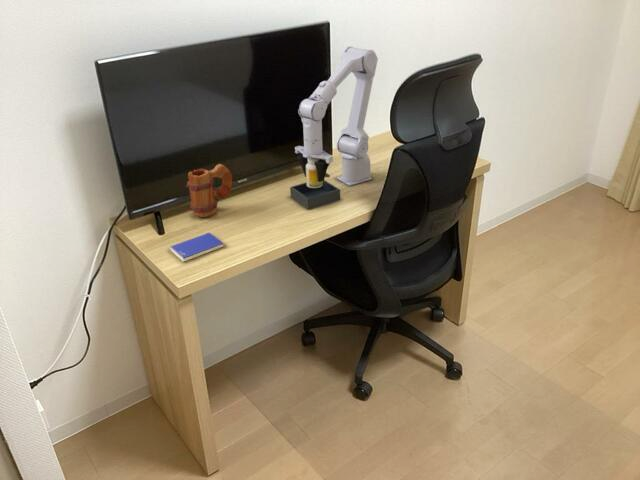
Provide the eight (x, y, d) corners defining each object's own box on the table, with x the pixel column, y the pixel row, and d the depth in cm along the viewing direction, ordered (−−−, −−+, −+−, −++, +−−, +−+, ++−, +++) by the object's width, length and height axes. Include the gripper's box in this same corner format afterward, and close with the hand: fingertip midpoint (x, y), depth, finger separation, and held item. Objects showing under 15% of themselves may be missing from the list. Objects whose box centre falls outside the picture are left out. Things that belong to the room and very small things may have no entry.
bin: (321, 188, 196) (321, 178, 194) (340, 199, 188) (340, 189, 186) (290, 197, 191) (290, 187, 189) (308, 209, 182) (307, 199, 181)
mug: (194, 222, 177) (187, 177, 170) (186, 212, 184) (179, 168, 176) (239, 211, 183) (234, 167, 175) (230, 201, 189) (225, 158, 182)
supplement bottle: (303, 185, 187) (301, 157, 183) (315, 180, 190) (315, 153, 185) (313, 190, 184) (312, 162, 179) (326, 185, 187) (325, 157, 182)
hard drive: (183, 257, 156) (222, 242, 163) (169, 245, 162) (208, 231, 169) (183, 262, 157) (223, 247, 164) (170, 250, 163) (209, 236, 169)
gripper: (287, 136, 181) (289, 176, 188) (321, 147, 172) (322, 188, 179) (303, 130, 185) (304, 169, 192) (337, 140, 177) (337, 181, 183)
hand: (314, 178), depth 186 cm, fingers closed on supplement bottle, 5 cm apart
